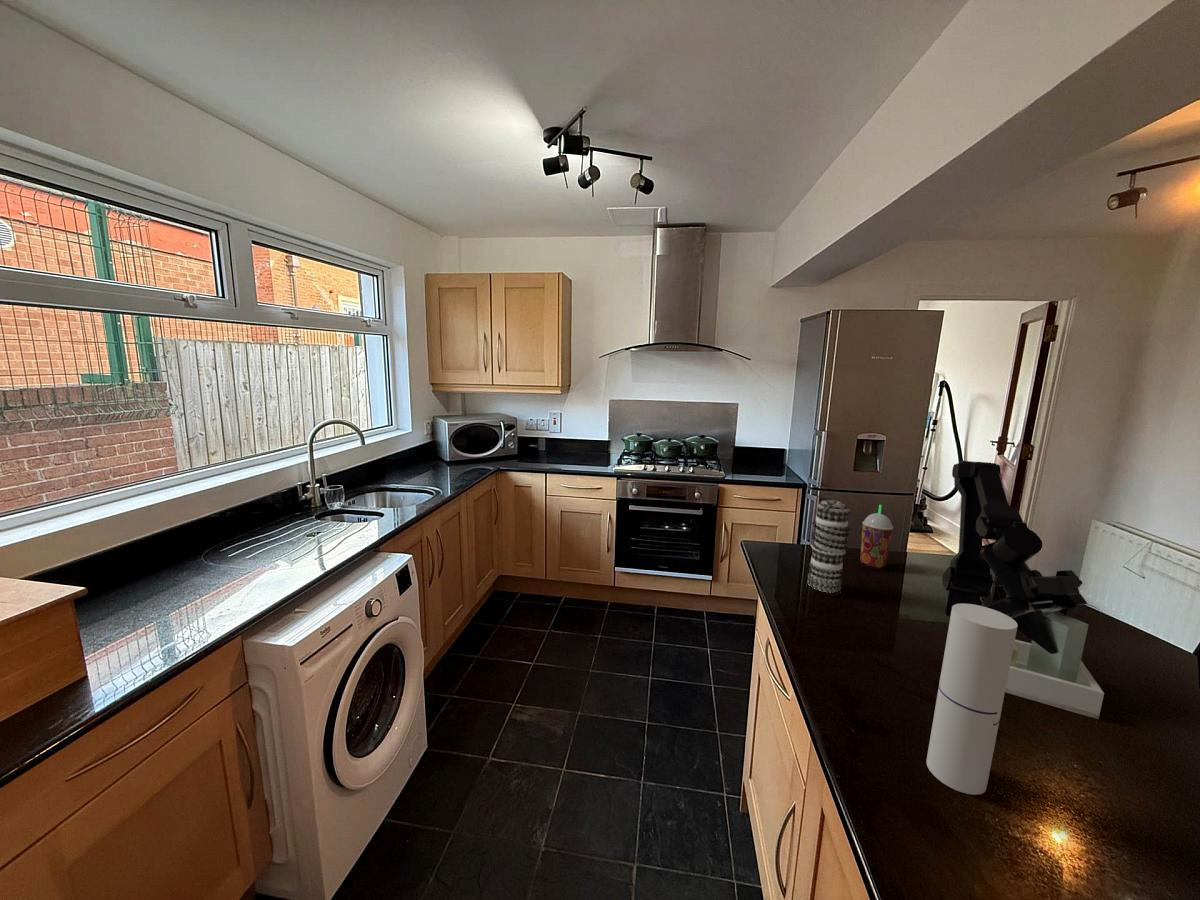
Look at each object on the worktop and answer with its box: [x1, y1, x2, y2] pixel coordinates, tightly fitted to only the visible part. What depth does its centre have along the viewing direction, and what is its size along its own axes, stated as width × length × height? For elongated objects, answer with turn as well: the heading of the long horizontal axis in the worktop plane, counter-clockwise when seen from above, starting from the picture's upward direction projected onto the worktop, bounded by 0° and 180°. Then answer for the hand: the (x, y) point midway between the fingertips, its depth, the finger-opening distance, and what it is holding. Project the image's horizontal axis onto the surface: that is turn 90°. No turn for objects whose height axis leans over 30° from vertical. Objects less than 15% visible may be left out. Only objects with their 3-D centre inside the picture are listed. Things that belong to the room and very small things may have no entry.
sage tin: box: [1026, 611, 1089, 683], centre depth 89 cm, size 5×5×12 cm
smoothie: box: [859, 504, 894, 568], centre depth 147 cm, size 8×8×20 cm
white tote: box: [1005, 639, 1105, 720], centre depth 93 cm, size 18×14×5 cm
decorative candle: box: [806, 499, 851, 593], centre depth 128 cm, size 9×9×25 cm
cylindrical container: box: [926, 604, 1018, 796], centre depth 68 cm, size 7×7×25 cm
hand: (1064, 651), depth 87 cm, fingers closed on sage tin, 5 cm apart
